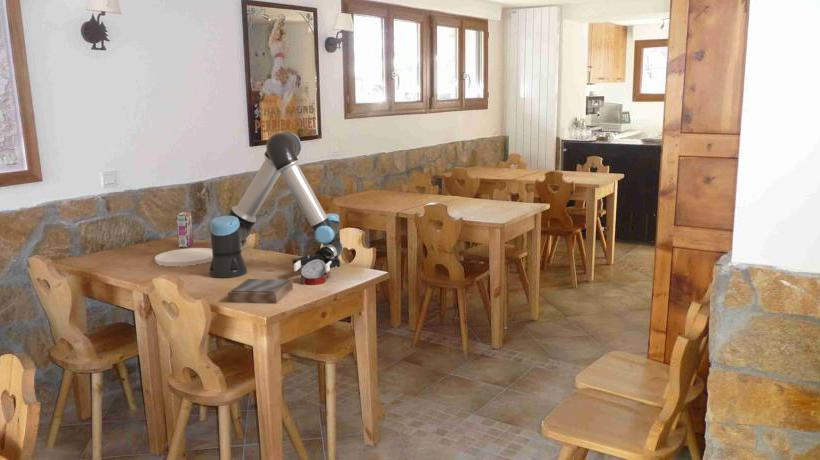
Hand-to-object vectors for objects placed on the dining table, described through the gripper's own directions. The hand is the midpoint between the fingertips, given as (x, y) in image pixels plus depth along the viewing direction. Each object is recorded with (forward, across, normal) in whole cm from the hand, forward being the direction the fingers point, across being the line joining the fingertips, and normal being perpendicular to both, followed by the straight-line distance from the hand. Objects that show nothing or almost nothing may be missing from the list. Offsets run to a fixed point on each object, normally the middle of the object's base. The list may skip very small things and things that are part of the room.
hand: (310, 268), depth 266 cm
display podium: (+16, +14, -6) cm, 22 cm away
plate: (-38, +70, -7) cm, 80 cm away
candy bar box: (-66, +85, -7) cm, 108 cm away
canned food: (-4, 0, -7) cm, 8 cm away
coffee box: (-59, +55, -7) cm, 81 cm away
